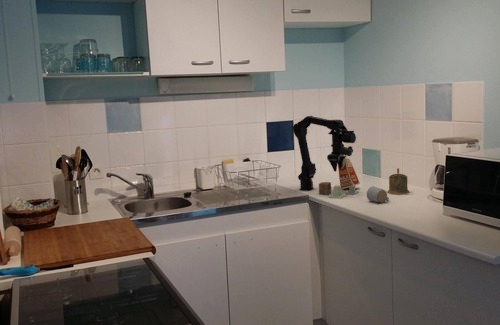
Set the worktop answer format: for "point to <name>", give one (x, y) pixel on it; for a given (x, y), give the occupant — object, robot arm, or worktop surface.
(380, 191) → the ceramic mug
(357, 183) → the milk carton
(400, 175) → the rusty brown bell
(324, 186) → the brown rectangular block
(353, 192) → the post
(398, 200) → the worktop surface
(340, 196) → the post
